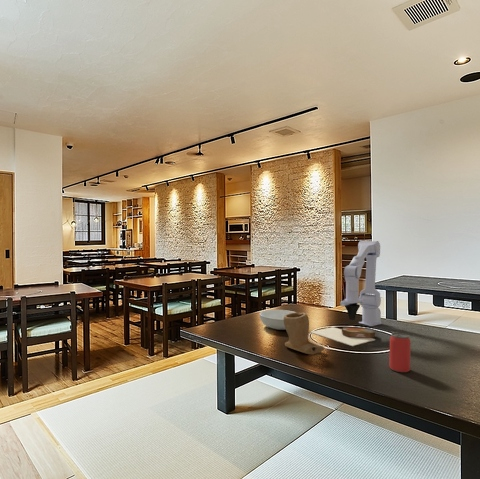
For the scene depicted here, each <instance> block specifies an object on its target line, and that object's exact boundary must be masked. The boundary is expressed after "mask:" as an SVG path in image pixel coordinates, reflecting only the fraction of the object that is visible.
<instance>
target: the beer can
mask: <svg viewBox="0 0 480 479" xmlns="http://www.w3.org/2000/svg"><path fill="white" fill-rule="evenodd" d="M411 345H412V344H411V340H410V335H408V334H407V333H406V334H405V333H402V332H393V333H391V335H390V337H389V354H388V355H389V363H388V366H389V369H390V370H392V371H394V372H397V373H409V372H410V370H411V350H412V349H411V348H412V347H411Z"/></svg>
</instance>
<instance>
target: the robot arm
mask: <svg viewBox="0 0 480 479" xmlns="http://www.w3.org/2000/svg"><path fill="white" fill-rule="evenodd" d="M357 249H358V252H357V255H354V256H353V257H352V260H351V261H350V263H349V265H346V266H345V267H344V269H343V270H344V271H343V274H344V281H345V298H344V299H343V300H342V301H340V304H339V305H340V306H341V307H345V310H346V311H347V315H348V319H349V320H351V321H355V319H356V316H357V313H358V311H359V309H360V306H361V307H362V311H361V312H362V313H361V314H362V315H361V318H362V320H361V321H358V324H361V325H365V326H369V327H374V326H379V325H383V322H381V319H382V318H381V317H382V315H381V314H382V313H381V312H382V311H381V309H380V307H381V303H382V300H381V293H380V291H379V290H377V289H376V274H377V273H376V270H377V259H378V258H380V255H381V244H380V241H379V240H359V242H358V244H357ZM365 259H366V264H365ZM364 265H365V283H364V284H365V286H364V288H363V289H361V291H360V289H359V288H360V287H359V286H360V284H359V283H360V278H361V276H362V270H363V269H362V268H363V267H364ZM359 291H360V292H359Z"/></svg>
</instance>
